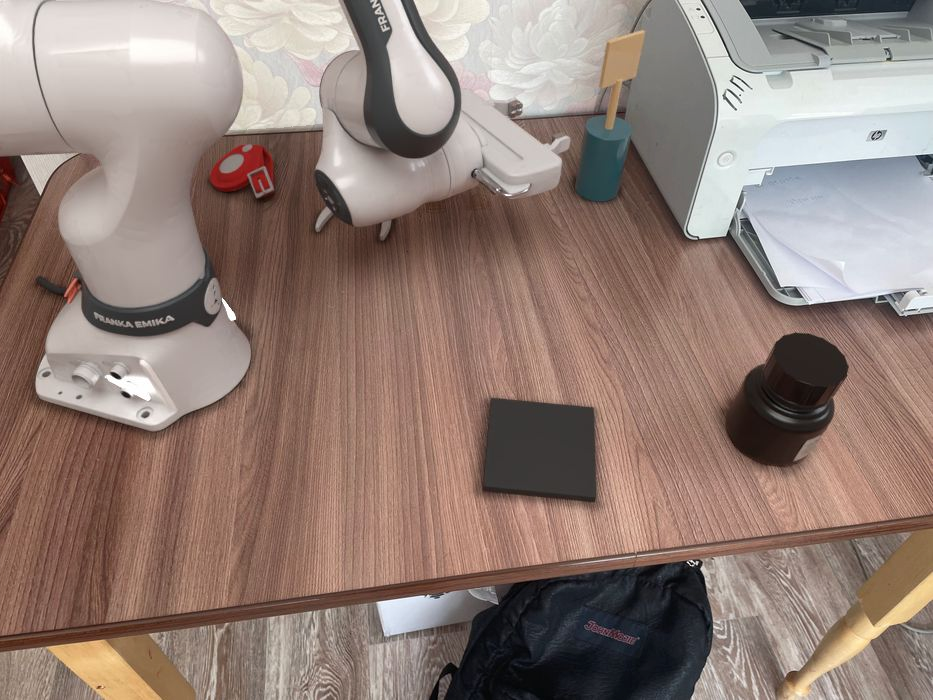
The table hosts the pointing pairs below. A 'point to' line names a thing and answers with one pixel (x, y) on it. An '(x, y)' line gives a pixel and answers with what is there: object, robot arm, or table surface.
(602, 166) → the spatula crock
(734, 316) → the table surface
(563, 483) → the plate
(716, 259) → the table surface
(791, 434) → the ink bottle
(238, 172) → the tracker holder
